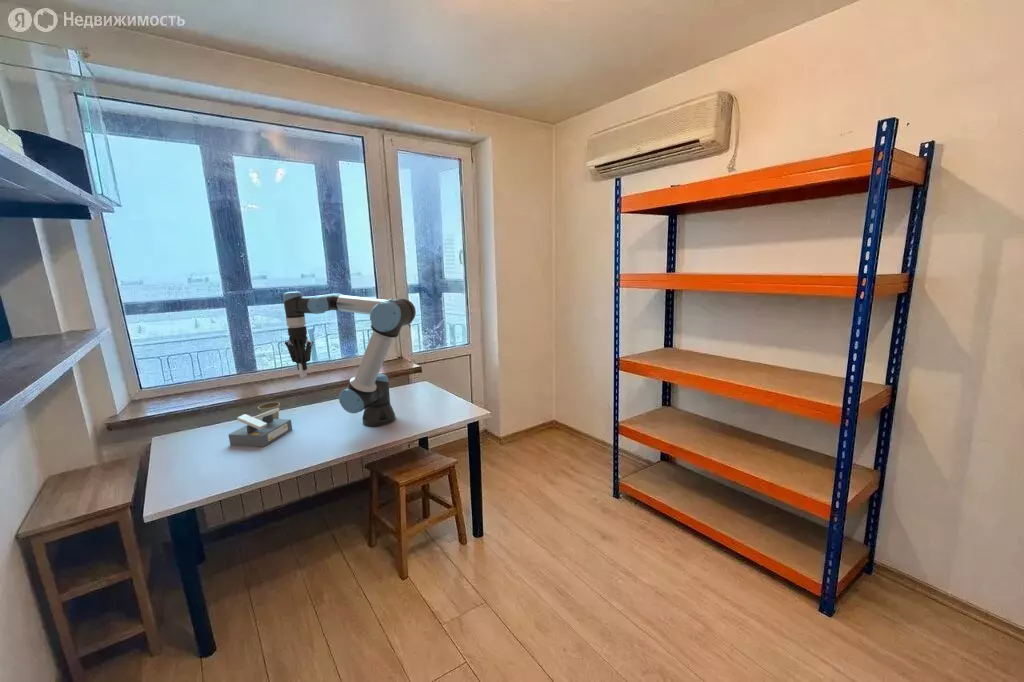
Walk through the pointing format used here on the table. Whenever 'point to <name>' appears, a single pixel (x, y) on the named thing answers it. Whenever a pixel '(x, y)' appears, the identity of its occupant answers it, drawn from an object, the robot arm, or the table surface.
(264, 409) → the flower pot
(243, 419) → the rocker
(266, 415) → the rocker
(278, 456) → the table surface
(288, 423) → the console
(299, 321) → the robot arm
